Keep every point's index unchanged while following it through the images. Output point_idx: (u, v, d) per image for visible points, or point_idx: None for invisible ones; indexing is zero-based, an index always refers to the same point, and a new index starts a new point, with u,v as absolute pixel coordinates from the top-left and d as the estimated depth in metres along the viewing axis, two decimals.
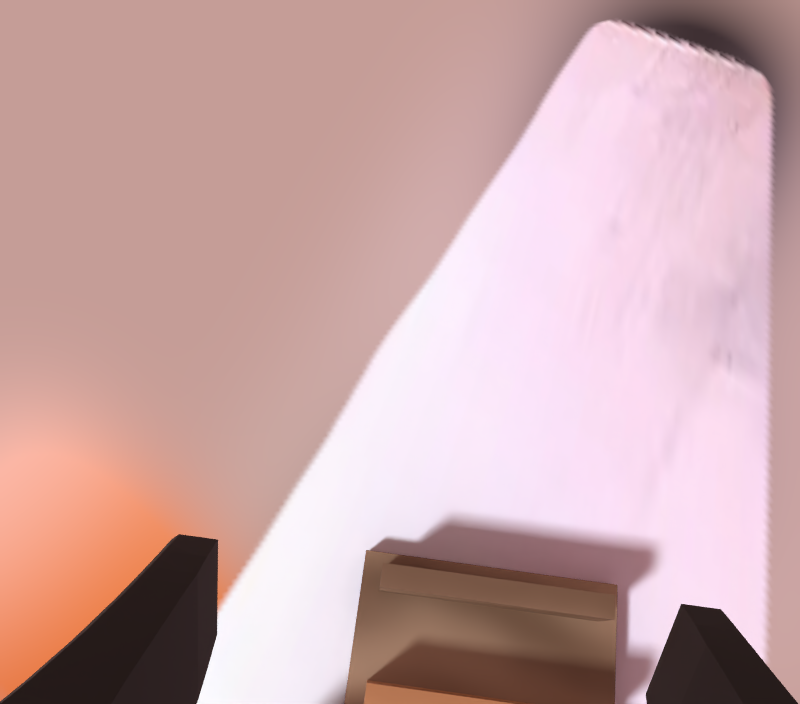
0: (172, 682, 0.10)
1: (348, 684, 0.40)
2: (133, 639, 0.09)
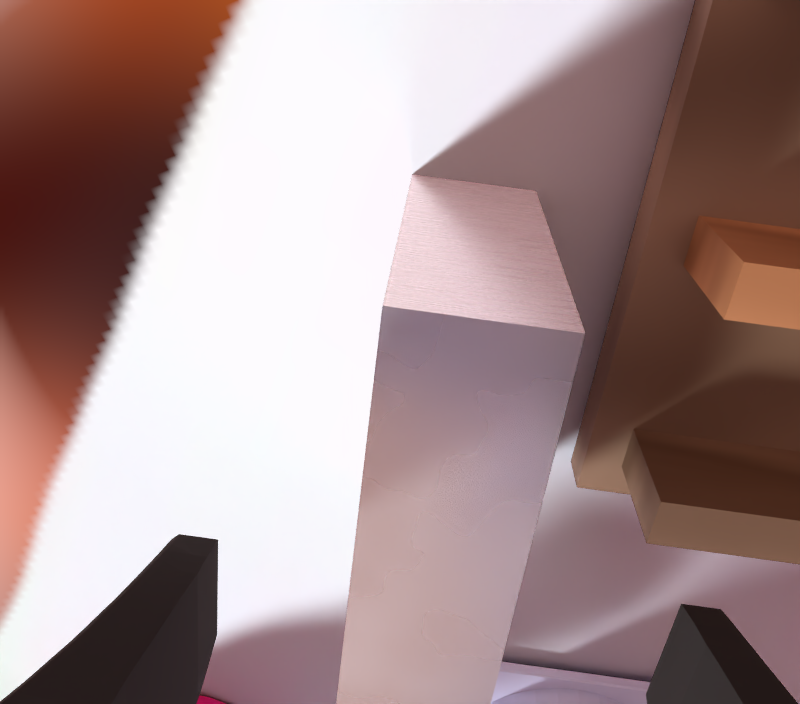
0: (172, 682, 0.10)
1: None
2: (133, 639, 0.09)
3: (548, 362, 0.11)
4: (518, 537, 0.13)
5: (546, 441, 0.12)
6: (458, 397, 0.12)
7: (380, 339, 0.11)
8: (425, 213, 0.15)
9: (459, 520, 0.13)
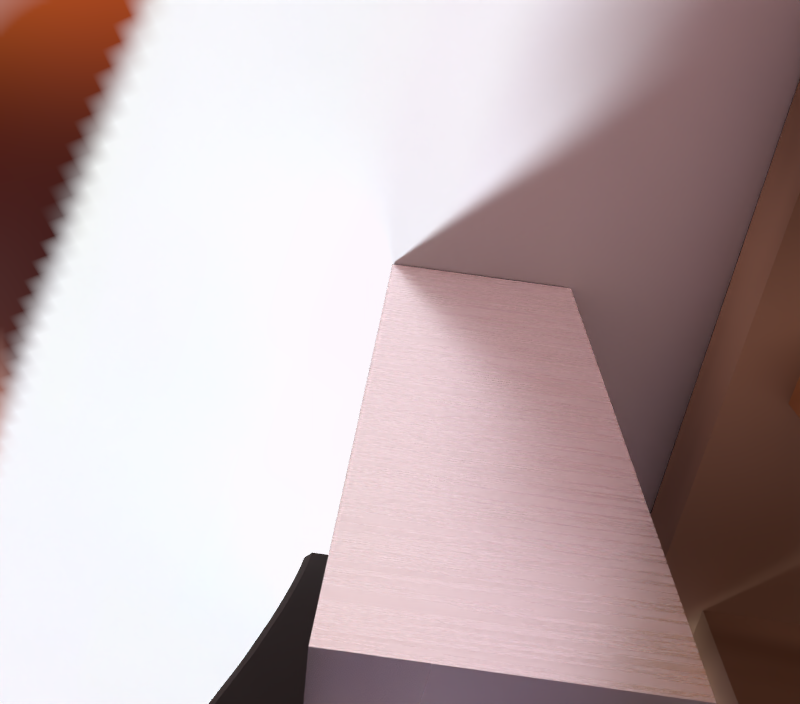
0: None
1: None
2: (301, 662, 0.09)
3: None
4: None
5: None
6: None
7: (307, 696, 0.06)
8: (407, 353, 0.10)
9: None
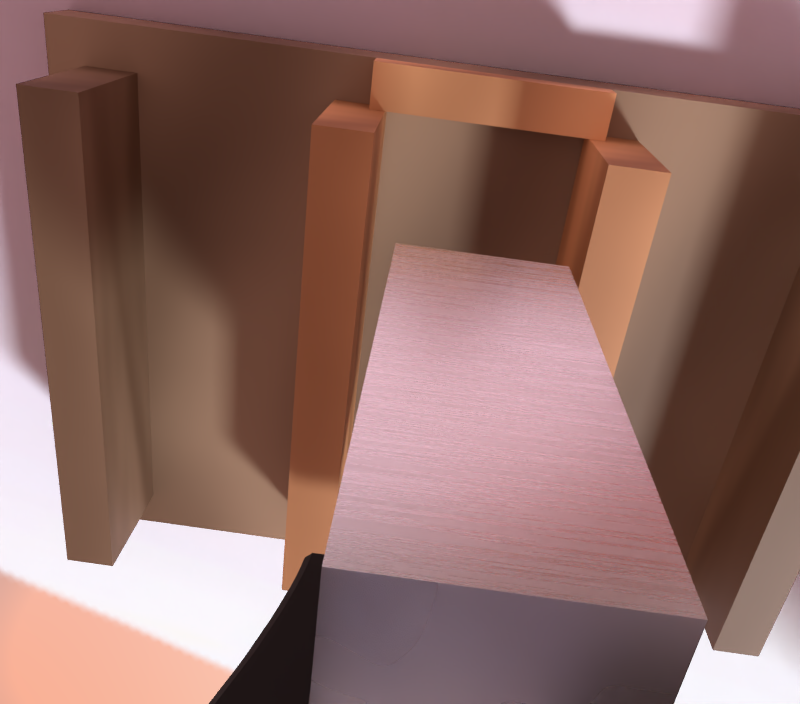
0: None
1: None
2: (301, 662, 0.09)
3: (633, 661, 0.06)
4: None
5: None
6: None
7: (320, 618, 0.06)
8: (411, 320, 0.10)
9: None
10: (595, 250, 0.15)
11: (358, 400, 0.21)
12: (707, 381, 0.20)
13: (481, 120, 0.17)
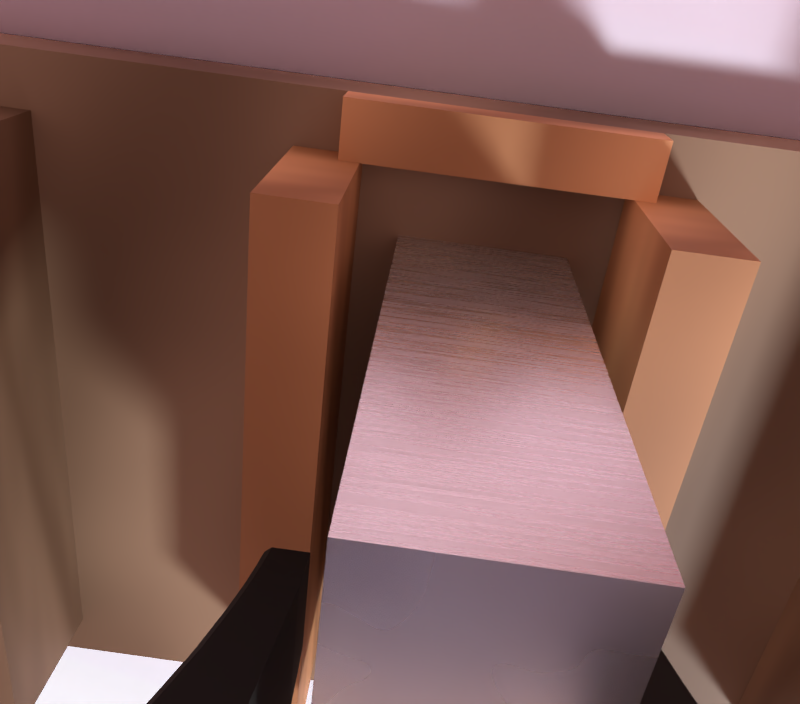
0: (276, 696, 0.10)
1: None
2: (250, 655, 0.09)
3: (618, 626, 0.07)
4: None
5: None
6: (460, 672, 0.07)
7: (326, 585, 0.07)
8: (413, 309, 0.11)
9: None
10: (648, 362, 0.11)
11: (332, 514, 0.16)
12: (776, 497, 0.15)
13: (489, 175, 0.12)
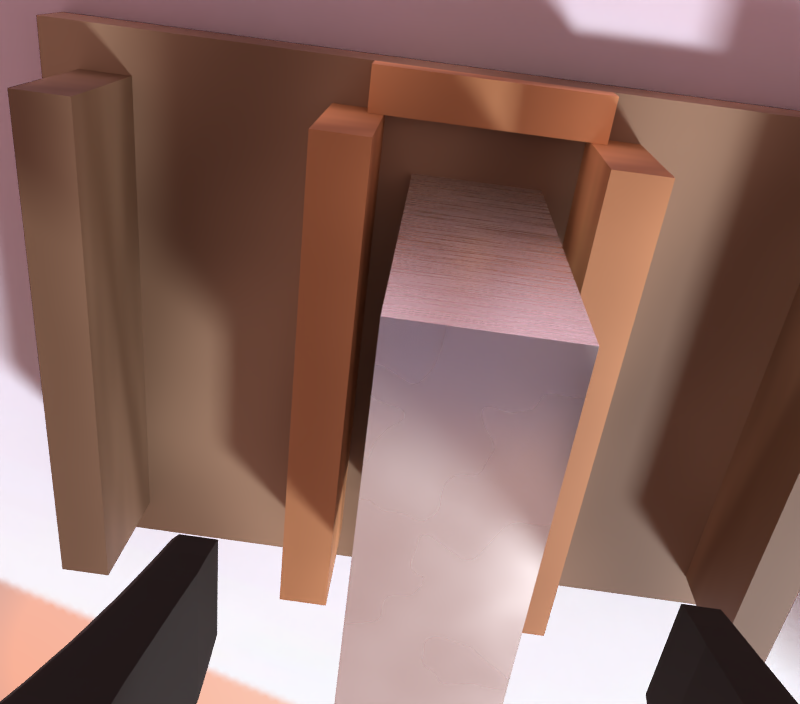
0: (172, 682, 0.10)
1: None
2: (133, 639, 0.09)
3: (559, 376, 0.11)
4: (525, 562, 0.12)
5: (556, 461, 0.11)
6: (461, 414, 0.11)
7: (378, 352, 0.11)
8: (426, 216, 0.15)
9: (461, 543, 0.12)
10: (597, 255, 0.15)
11: (357, 407, 0.20)
12: (710, 387, 0.19)
13: (481, 124, 0.16)
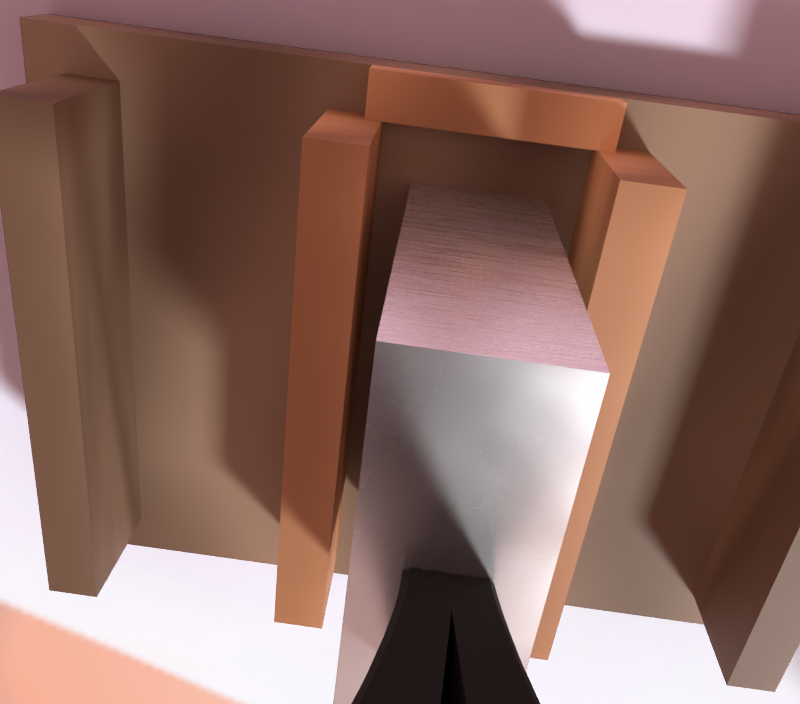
0: None
1: None
2: (425, 680, 0.09)
3: (566, 404, 0.10)
4: (529, 597, 0.11)
5: (563, 493, 0.11)
6: (462, 444, 0.10)
7: (373, 378, 0.10)
8: (425, 228, 0.14)
9: None
10: (605, 269, 0.14)
11: (354, 422, 0.20)
12: (721, 403, 0.19)
13: (483, 131, 0.16)
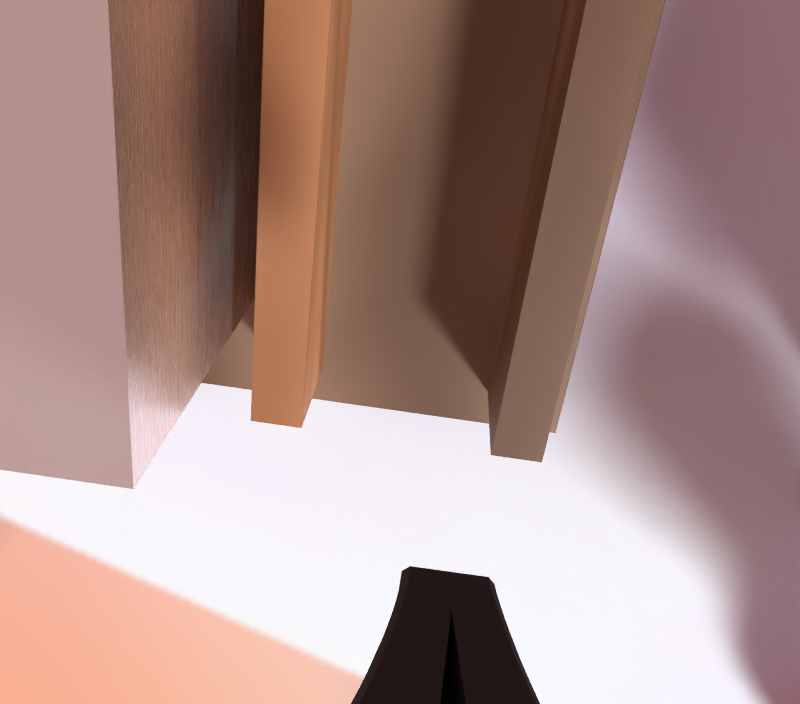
0: None
1: None
2: (425, 680, 0.09)
3: None
4: (99, 189, 0.10)
5: (95, 33, 0.09)
6: None
7: None
8: None
9: (22, 164, 0.10)
10: None
11: None
12: (483, 152, 0.18)
13: None
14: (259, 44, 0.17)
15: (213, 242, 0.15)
